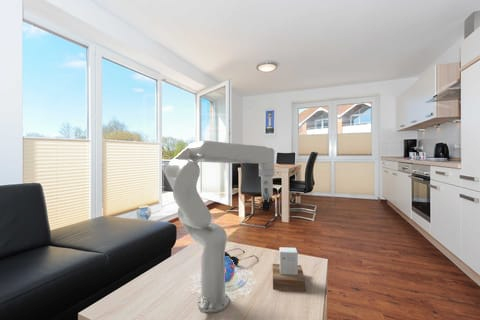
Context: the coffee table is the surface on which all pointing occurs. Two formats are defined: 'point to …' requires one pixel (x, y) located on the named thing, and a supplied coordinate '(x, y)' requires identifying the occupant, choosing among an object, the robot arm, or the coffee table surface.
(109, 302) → the coffee table surface
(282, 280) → the walnut block
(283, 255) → the small box
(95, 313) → the coffee table surface
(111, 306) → the coffee table surface
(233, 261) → the sunglasses
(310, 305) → the coffee table surface
